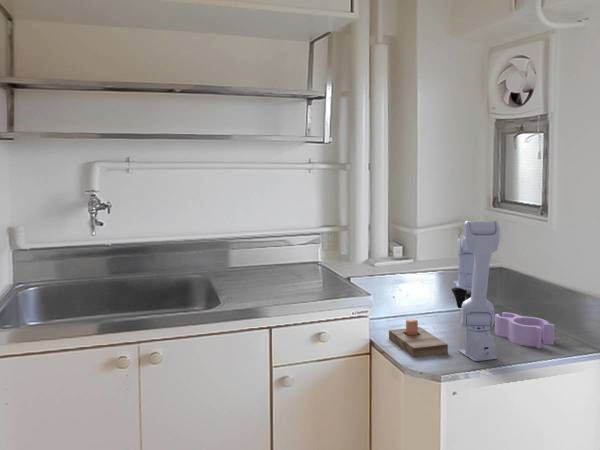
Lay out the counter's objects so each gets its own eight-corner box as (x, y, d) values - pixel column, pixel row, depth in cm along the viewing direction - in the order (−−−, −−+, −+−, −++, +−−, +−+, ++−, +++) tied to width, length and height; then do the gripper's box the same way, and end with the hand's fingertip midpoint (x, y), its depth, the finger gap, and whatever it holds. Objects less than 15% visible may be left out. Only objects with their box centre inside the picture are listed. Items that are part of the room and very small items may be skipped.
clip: (486, 334, 196) (487, 315, 196) (510, 328, 203) (510, 310, 202) (534, 350, 179) (535, 329, 178) (559, 343, 185) (559, 323, 184)
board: (447, 353, 178) (447, 344, 177) (413, 357, 175) (413, 348, 174) (419, 335, 197) (419, 327, 196) (388, 338, 194) (388, 330, 194)
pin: (419, 341, 188) (419, 321, 187) (409, 342, 187) (409, 323, 186) (414, 337, 192) (414, 318, 191) (404, 339, 191) (403, 319, 190)
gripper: (446, 269, 198) (445, 306, 200) (467, 277, 184) (467, 316, 186) (463, 268, 200) (463, 304, 201) (486, 276, 186) (485, 314, 187)
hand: (466, 310), depth 194 cm, fingers open, 7 cm apart
